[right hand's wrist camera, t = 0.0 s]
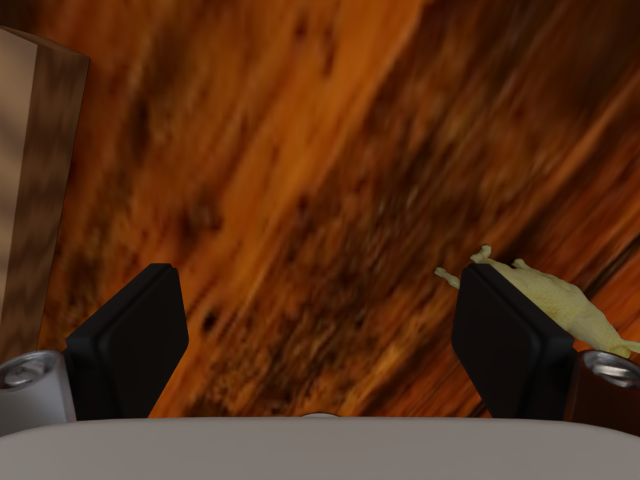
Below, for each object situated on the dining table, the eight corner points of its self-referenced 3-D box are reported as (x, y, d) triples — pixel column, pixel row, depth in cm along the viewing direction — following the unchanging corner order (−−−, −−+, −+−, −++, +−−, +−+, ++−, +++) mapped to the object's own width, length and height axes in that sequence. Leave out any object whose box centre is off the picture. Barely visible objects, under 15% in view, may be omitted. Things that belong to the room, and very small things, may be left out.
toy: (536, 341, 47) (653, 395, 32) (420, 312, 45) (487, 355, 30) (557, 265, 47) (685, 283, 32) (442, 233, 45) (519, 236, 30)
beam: (21, 430, 55) (-20, 474, 49) (-8, 422, 55) (-54, 465, 48) (90, 57, 36) (37, 45, 30) (46, 38, 36) (-18, 20, 29)
